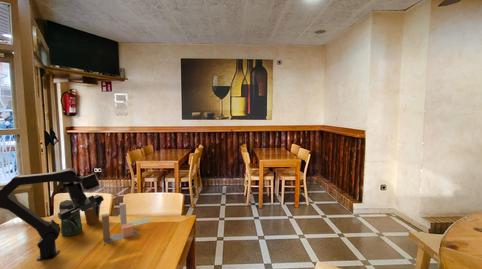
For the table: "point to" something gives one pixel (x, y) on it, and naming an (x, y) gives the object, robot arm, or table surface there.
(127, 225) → the terracotta cube
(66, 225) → the coffee jar
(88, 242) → the table surface
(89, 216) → the disposable coffee cup
